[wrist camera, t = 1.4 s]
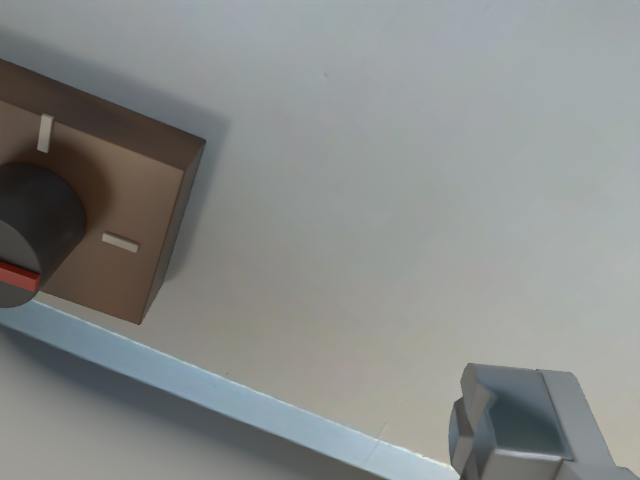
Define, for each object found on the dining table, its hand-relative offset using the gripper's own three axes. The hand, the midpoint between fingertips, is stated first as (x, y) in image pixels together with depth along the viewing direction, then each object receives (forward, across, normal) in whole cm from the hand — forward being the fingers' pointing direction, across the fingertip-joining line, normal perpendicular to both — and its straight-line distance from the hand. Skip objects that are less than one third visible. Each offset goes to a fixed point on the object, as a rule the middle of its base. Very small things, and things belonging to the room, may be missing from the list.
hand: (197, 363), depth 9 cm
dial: (+12, +9, +5) cm, 16 cm away
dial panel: (+15, +9, +5) cm, 19 cm away
